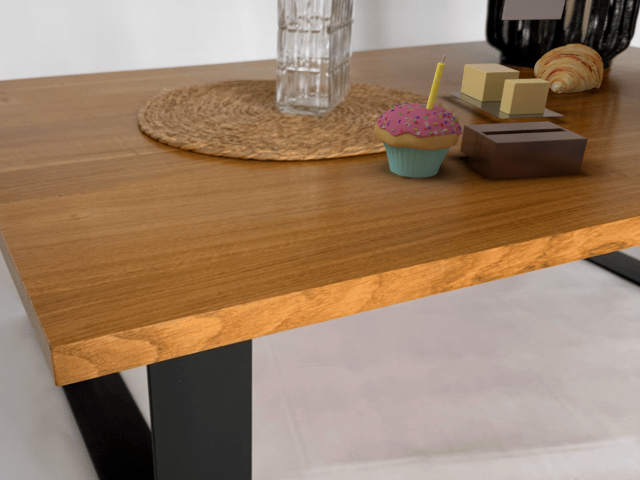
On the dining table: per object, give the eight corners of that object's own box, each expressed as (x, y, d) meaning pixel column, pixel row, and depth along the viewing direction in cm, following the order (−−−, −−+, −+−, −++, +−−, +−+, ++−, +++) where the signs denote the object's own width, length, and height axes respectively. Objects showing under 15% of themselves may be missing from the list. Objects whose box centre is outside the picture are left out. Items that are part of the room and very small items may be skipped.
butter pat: (499, 110, 91) (504, 79, 89) (533, 109, 92) (539, 78, 90) (509, 114, 89) (514, 83, 87) (544, 113, 90) (550, 82, 88)
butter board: (445, 100, 102) (450, 63, 99) (500, 98, 103) (507, 62, 101) (499, 128, 88) (507, 86, 85) (562, 125, 89) (572, 84, 87)
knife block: (541, 156, 77) (548, 121, 75) (578, 176, 71) (588, 138, 69) (458, 161, 75) (464, 124, 73) (490, 182, 69) (496, 143, 67)
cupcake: (470, 173, 71) (489, 52, 66) (423, 192, 66) (440, 63, 60) (401, 155, 77) (414, 42, 71) (353, 171, 71) (363, 51, 66)
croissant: (574, 126, 102) (614, 80, 97) (518, 88, 103) (554, 40, 98) (583, 95, 119) (617, 55, 114) (534, 63, 120) (566, 21, 115)
